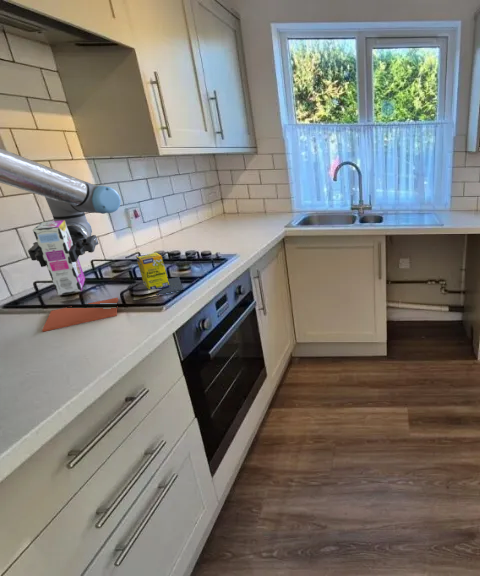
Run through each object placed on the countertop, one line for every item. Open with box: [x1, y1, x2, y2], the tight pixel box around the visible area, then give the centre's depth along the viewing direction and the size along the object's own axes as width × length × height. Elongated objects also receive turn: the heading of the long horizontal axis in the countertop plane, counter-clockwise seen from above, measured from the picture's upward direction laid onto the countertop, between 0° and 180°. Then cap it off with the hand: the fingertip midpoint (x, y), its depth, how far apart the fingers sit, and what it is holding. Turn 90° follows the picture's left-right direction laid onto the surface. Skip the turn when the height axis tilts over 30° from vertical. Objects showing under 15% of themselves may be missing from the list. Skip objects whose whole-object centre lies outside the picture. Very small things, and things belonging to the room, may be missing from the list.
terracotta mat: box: [41, 297, 119, 333], centre depth 103 cm, size 16×14×1 cm
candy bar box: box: [32, 220, 86, 296], centre depth 89 cm, size 11×5×16 cm, turn 34°
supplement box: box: [135, 252, 170, 289], centre depth 118 cm, size 6×6×11 cm
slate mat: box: [156, 276, 185, 295], centre depth 120 cm, size 14×14×1 cm
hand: (57, 258), depth 85 cm, fingers closed on candy bar box, 5 cm apart
